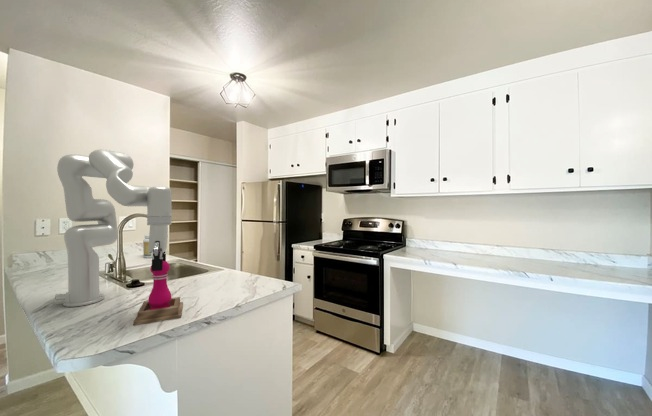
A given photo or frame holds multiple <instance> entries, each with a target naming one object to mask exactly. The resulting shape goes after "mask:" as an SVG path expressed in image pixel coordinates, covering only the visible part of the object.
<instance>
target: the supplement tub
mask: <svg viewBox="0 0 652 416" xmlns="http://www.w3.org/2000/svg"><path fill="white" fill-rule="evenodd" d="M142 244H143V258H145V259H152V256H153V252H152V253H149V252H148V250H149V234H144V239H143V243H142Z"/></svg>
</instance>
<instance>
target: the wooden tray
mask: <svg viewBox="0 0 652 416" xmlns="http://www.w3.org/2000/svg"><path fill="white" fill-rule="evenodd" d="M168 304H170V307H167V308H160V309H153V310H150V307H151V305H150V304H149V303H148V300H146V301H145V300H144V301H143V303H142V304H141V306H140V308H139V310H138V312H137V314H136V316H135V318H134V320H133V322H132V326H138V325H143V324H150V323H156V322H163V321H169V320H174V319H181V318H182V313H183V308H184V302H183V301H181V297H180V296H176V297H171V301H170V302H169V303H168Z"/></svg>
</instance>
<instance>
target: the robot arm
mask: <svg viewBox="0 0 652 416" xmlns="http://www.w3.org/2000/svg"><path fill="white" fill-rule="evenodd" d="M57 162H58V163H57V166H56V170H57V175H58V179H59V181H60V183H61V186H62V188H63V194H64V195H63V196H64V202H65V210H66V216H67V218H68V220H70V221H72V222H76V223H79V222H82V223H84V222H86V223H87V222H97V223H96V224H94V223H93V224H80V225H79V224H78V225H73V226H71V227H69V228H67V229H66V230H65V232H64V234H63V239H64V244H65V247H66V252H67V271H68V272H67V277H68V278H67V279H68V280H67V283H68V284H67V285H68V292H65V293H58V294H57V293H56V294H55V296H54V300H56V301H62V300H64V301H63V302H62V303H63V304H62V305H63V306H64V307H69V308H71V307H72V308H73V307H81V306H83V307H84V306H88V305H92V304H96V303H98V302H100V301H102V300H104V299H105V295H104V294H103V293H100V257H99V254H98V253H97V252H96V251H95V250H94V249H93V248H95V247H103V246H110V245H112V244H114V243H116V241H117V240H118V236H119V231H118V222H117V214H116V209H115V206H114V204H113V203H112V202H111V201H109V200H107V199H103V198H102V199H101V198H94V196H93V191H92V187H91V185H90V184H89V183H88V182H87V181H86V179H84V178H83V177H87V178H88V177H90V178H98V179H106V183H105V187H106V192H107V194H108V195H109V196H110V197H111V198H112V199H113V200H114V201H115V202H116V203H118V204H119V205H121V206H124V207H146V209H147V211H146V212H147V213H146V219H147V220H146V226H149V233H148V235H149V250H148V252H149V253H152V252H153V256H152V258H151V265H152V271H161V270H163V261H166V260H167V255H166V254H167V253H166V250H167V248H168V238H169V237H168V235H169V234H168V232H169V229H168V228H169V226H170V225H172V209H173V208H172V202H173V201H172V200H173V199H172V197H173V196H172V189H171V188H170V187H167V186H165V187H164V186H145V185H134V184H133V185H130V184H128V183H129V182H130V181H131V180H132V178H133V175H134V171H133V169H134V160H133V158H132V157H131V156H130V155H129V154H127V153H125V152H119V151H115V150H111V149H109V150H108V149H101V148H100V149H95V150H93V151H91V152H90V153H89V154H88V155H84V154H83V155H82V154H66V155H63V156H61V158H59V159H58V161H57ZM162 257H163V259H162ZM166 262H167V261H166Z"/></svg>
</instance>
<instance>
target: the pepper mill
mask: <svg viewBox="0 0 652 416" xmlns="http://www.w3.org/2000/svg"><path fill="white" fill-rule="evenodd" d="M162 259H163V257H162ZM169 271H170V263H169V262H168V261H163V270H161V271H152V264H151V265H150V272H151V273H152V274H151V276H152V277H151V279H152V280H153V286H152V289H151V291H150V294H149V296H148V300H147V301H148V303H149V304H150V305H151V307H150V310H153V309H160V308H167V307H170V304H168V303H169V302H170V301H171V298H172V294H171V291H170V289H169V286H168V281H167V280H168V279H167V278H169V273H168V272H169Z"/></svg>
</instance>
